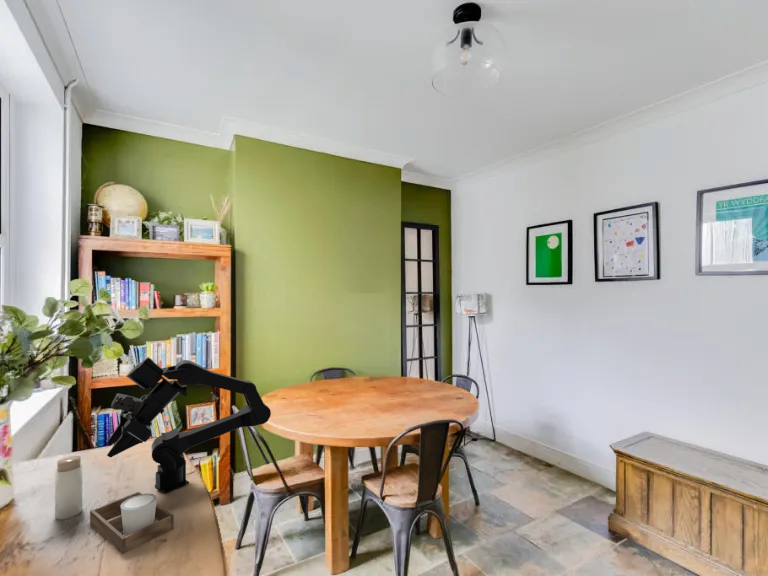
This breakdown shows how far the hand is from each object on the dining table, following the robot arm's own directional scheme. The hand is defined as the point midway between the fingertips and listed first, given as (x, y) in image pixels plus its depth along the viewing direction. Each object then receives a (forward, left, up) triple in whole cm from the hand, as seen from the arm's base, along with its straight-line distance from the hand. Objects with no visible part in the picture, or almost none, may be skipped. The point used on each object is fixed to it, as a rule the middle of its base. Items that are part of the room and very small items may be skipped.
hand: (108, 450), depth 98 cm
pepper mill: (+7, -2, -13) cm, 15 cm away
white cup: (+1, +20, -14) cm, 24 cm away
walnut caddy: (+1, +16, -13) cm, 21 cm away
